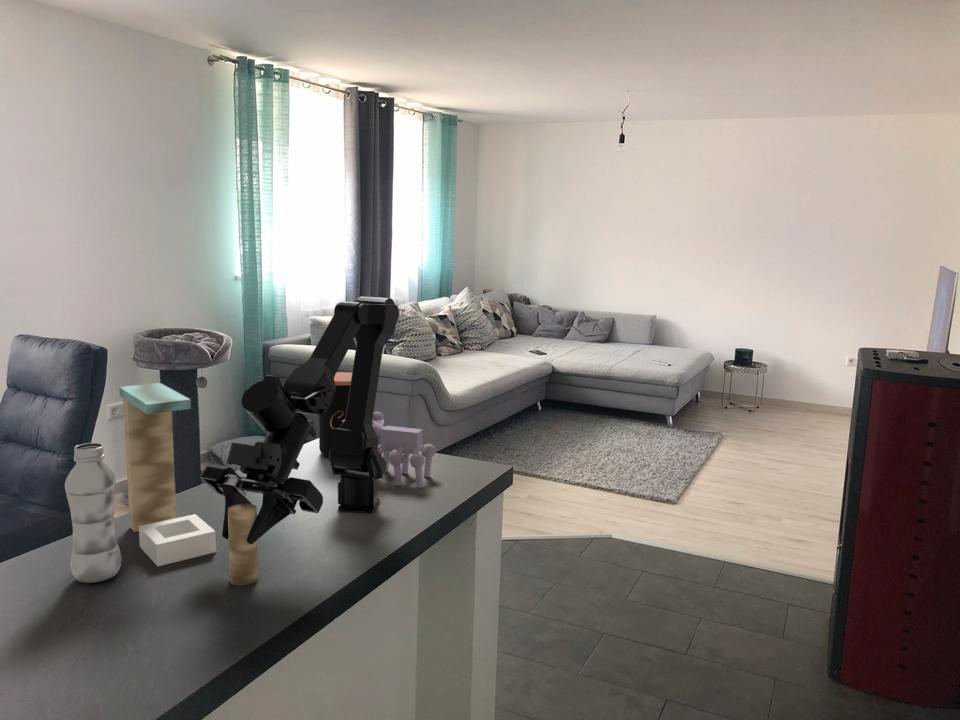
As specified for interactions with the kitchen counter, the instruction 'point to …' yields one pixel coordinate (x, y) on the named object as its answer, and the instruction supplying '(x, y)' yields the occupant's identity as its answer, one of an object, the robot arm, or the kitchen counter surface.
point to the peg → (242, 545)
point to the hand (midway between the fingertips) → (236, 540)
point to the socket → (177, 539)
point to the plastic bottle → (92, 516)
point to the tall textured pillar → (150, 451)
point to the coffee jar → (334, 411)
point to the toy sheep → (403, 449)
